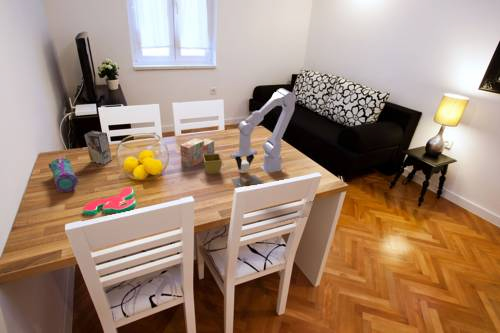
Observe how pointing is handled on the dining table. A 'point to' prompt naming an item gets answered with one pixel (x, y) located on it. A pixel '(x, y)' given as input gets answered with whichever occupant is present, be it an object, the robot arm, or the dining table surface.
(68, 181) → the pencil case
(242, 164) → the top block
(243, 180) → the base block
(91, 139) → the coffee box
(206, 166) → the flower pot
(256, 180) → the blueprint mat
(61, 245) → the dining table surface
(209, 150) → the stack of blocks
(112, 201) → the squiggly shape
